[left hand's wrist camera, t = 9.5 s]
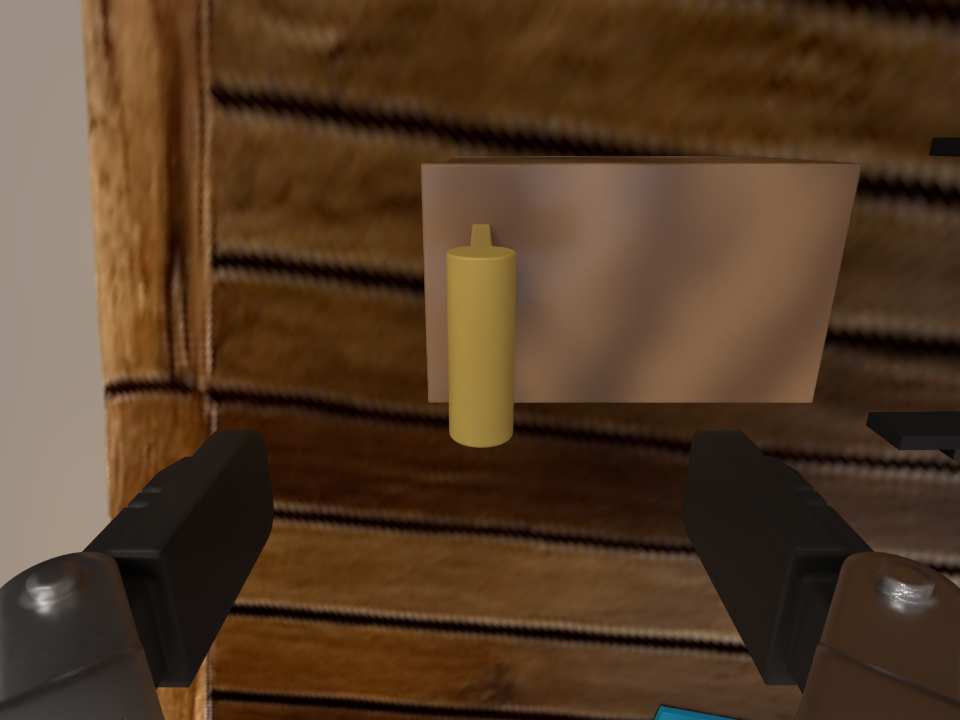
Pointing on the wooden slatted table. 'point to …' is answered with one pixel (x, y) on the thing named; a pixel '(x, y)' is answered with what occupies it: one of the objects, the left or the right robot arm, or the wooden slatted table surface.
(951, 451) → the right robot arm
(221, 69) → the wooden slatted table surface
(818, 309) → the lid
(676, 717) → the model building
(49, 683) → the left robot arm
